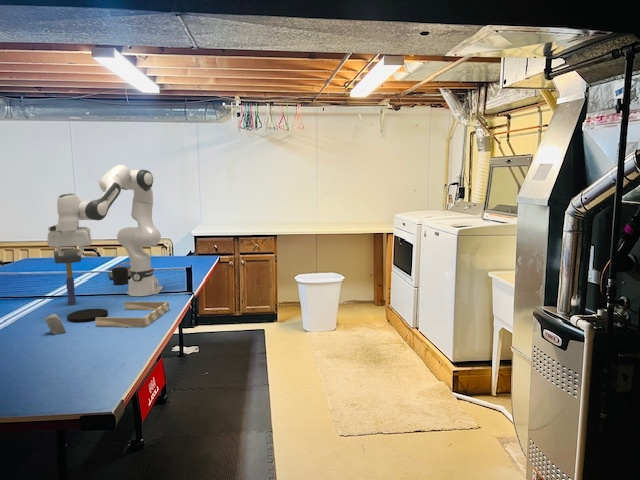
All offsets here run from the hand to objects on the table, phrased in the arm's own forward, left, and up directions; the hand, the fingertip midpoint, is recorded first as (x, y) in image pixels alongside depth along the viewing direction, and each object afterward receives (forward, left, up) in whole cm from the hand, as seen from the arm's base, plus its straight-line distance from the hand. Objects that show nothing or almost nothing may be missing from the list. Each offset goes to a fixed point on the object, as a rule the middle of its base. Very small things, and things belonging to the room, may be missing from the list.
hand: (70, 255), depth 223 cm
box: (+2, +31, -30) cm, 43 cm away
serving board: (-99, -23, -31) cm, 106 cm away
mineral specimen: (+25, +7, -30) cm, 40 cm away
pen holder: (-69, -12, -30) cm, 76 cm away
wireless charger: (+2, +8, -31) cm, 32 cm away
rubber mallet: (-20, -14, -30) cm, 39 cm away
